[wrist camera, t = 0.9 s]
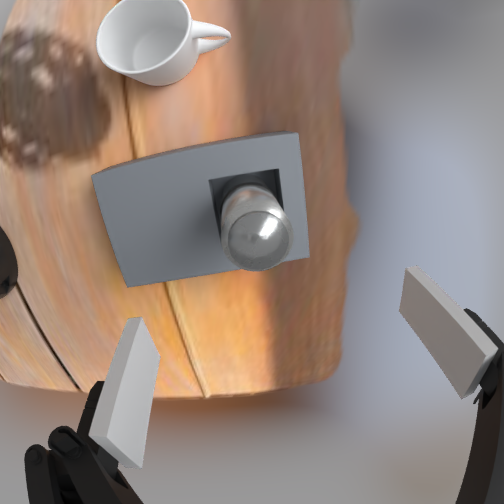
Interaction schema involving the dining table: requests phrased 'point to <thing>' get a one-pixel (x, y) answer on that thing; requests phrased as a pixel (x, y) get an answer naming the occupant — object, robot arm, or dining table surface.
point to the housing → (193, 204)
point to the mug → (154, 40)
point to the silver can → (253, 225)
